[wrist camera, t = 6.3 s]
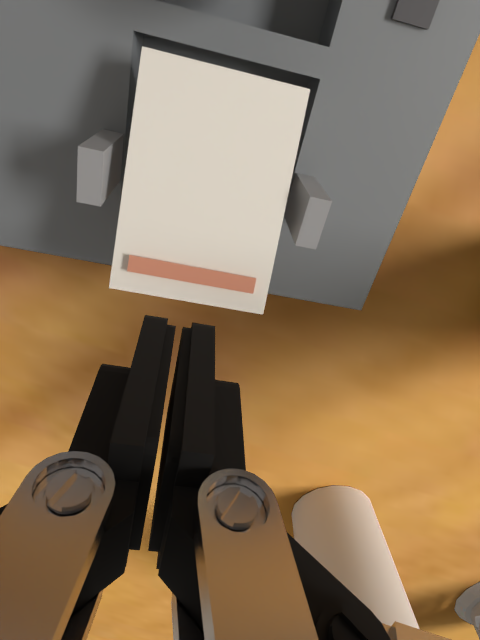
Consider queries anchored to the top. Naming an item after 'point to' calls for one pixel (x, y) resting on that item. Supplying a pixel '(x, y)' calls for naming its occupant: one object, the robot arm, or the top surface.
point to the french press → (470, 606)
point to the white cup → (352, 549)
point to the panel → (246, 56)
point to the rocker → (205, 182)
